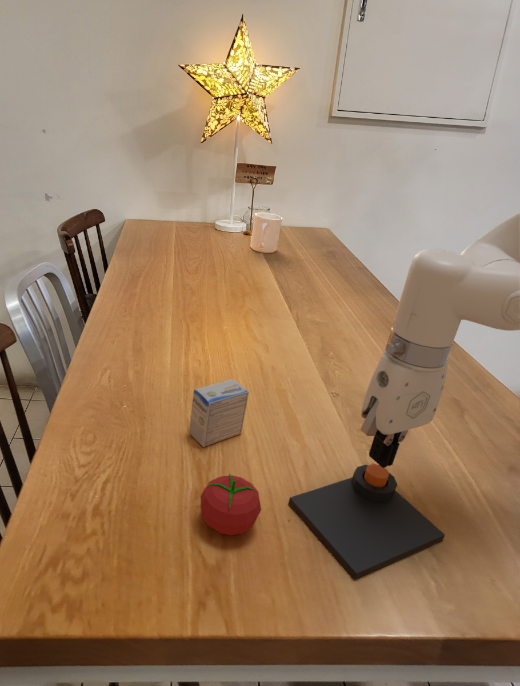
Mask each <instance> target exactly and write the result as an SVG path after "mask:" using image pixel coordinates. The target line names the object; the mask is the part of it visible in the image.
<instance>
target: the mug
mask: <svg viewBox="0 0 520 686" xmlns="http://www.w3.org/2000/svg"><path fill="white" fill-rule="evenodd" d="M252 223H253V224H252V231H251V237H250V244H249V245H250V246H249V247H250V249H251V250H253V251H255V252H258V253H262V254H273V253H276V251H277V250H278V246H279V240H280V234H281V227H282V223H283V216H281V215H279V214H276V213H273V212H272V213H271V212H265V211H261V212H260V211H259V212H255V213H254V217H253V222H252Z"/></svg>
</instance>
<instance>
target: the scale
mask: <svg viewBox="0 0 520 686" xmlns="http://www.w3.org/2000/svg"><path fill="white" fill-rule="evenodd" d="M368 465H369V464H363V465H359V466H356V468H355V470H354V471H353V474H352V477H349V478H346V479H342V480H340V481H336V482H333V483H331V484H327V485H324V486H321V487H318V488H314V489H312V490H309V491H306V492H303V493H299V494H296V495H293V496H290V497H289V499H288V505H289V506H290V507H291V509H292V510H293V511H294V513H295V514H297V515H298V517H299V518H300V519H301V520H302V521H303V523H304V524H305V525H306V526H307V527H308V528H309V529H310V531H311V532H312V533H313V534H314V535H315V536H316V537H317V539H318V540H319V541H320V542H321V543H322V545H323V546H324V547H325V549H327V551H328V552H329V553H330V554H331V555H332V556H333V557H334V558H335V560H336V561H337V562H338V563H339V564H340V566H342V568H343V569H344V570H345V571H346V572H347V574H348V575H349V576H350V577H351V578H352V579H353V580H354V581H355V580H358V579H360V578H362V577H364V576H367V575H369V574H371V573H374V572H376V571H378V570H380V569H383V568H385V567H387V566H390V565H391V564H394V563H396V562H398V561H401V560H402V559H406V558H407V557H410V556H412V555H414V554H416V553H419V552H421V551H422V550H425V549H428V548H430V547H432V546H434V545H437V544H438V543H439V544H440V543H441V542H443V541H444V539H445V536H446V534H445V533H444V532H443V531H441V529H439V528H438V527H437V526H436V525H435V524H434V523H433V522H431V521H430V520H429V519H428V518H427V517H426V516H425V515H424V514H422V513H421V511H419V510H418V508H416V507H415V506H413V504H411V503H410V502H409V501H408V500H407V499H406V498H404V496H403V495H401V494H400V493H399V492H398V491H397V487H398V483H397V480H396V478H395V476H394V475H393V474H391V473H390V472H389V476H388V479H387V482H386V485H385V486H384V487H374V486H372V485H370V484H368V483H367V482H366V481H365V479H364V475H365V472H366V469H367V466H368Z"/></svg>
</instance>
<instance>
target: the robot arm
mask: <svg viewBox="0 0 520 686" xmlns="http://www.w3.org/2000/svg"><path fill="white" fill-rule="evenodd" d="M462 321H468V322H472V323H475V324H478V325H480V326H481V325H482V326H485V327H488V328H491V329H495V330H499V331H509V332H511V331H512V332H513V331H520V211H518V212H517V213H515V214H512V215H511V216H509V217H507V218H506V219H504V220H502V221H501V222H500V223H497V225H495V226H494V227H492V228H491V229H489V230H488V231H487V232H485V233H484V234H482V235H481V236H480V237H478V238H477V239H476V240H474V241H472V243H470V244H469V245H468V246H467V247H465V249H463V250H462V251H461V253H458V252H454V251H451V250H446V249H441V248H440V249H439V248H426V249H422V250H419V251H418V252H416V254H415V255H414V256H413V258H412V260H411V263H410V265H409V268H408V272H407V276H406V279H405V282H404V286H403V289H402V292H401V296H400V299H399V302H398V305H397V308H396V312H395V315H394V319H393V322H392V326H391V328H390V332H389V335H388V338H387V342H386V346H385V348H384V353H382V355H381V357H380V359H379V361H378V363H377V365H376V367H375V369H374V372H373V374H372V376H371V379H370V380H369V384H368V387H367V390H366V392H365V395H364V399H363V401H362V406H361V411H360V412H361V413H360V416H361V418H362V419H364V421H363V423H362V425H361V427H360V432H362V433H363V434H364V435H365V436H367V437H373V439H372V443H371V445H370V448H369V452H368V456H369V457H370V458H371V460H373V461H374V462H375V463H376V464H377V465H380V466H381V467H382V468H387V467H391V466H393V464H394V461H395V459H396V456H397V453H398V451H399V447H400V443H402V442H404V440H405V438H406V436H407V434H408V432H409V431H410V430H412V429H416V428H419V427H423V426H425V425H428V424H429V423H431V422H432V421H433V420H434V417H435V415H436V412H437V410H438V408H439V407H438V406H439V404H440V401H441V397H442V395H443V389H444V387H445V382H446V378H447V371H448V363H449V361H448V358H449V355H450V352H451V349H452V346H453V343H454V341H455V338H456V335H457V332H458V330H459V327H460V324H461V322H462Z"/></svg>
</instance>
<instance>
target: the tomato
mask: <svg viewBox="0 0 520 686" xmlns="http://www.w3.org/2000/svg"><path fill="white" fill-rule="evenodd" d="M261 511H262V506H261V500H260V494H259V491H258V490H257V488H256V487H255V486H254V484H253V483H251V482H250V481H248V480H246V479H244V478H243V477H241V476H237V475H232V474H231V473H228V475H221V476H218V477H216V478H213V479H212V480H209V482H208V483H207V485H206V486H205V488H204V489H203V491H202V493H201V495H200V513H201V517H202V518H203V520H204V521H205V523H206V525H207V526H209V527H210V528H211V529H213V531H216V532H218V533H219V534H222V535H225V536H235V535H241V534H243V533H245V532H248V531H249V530H250V529H252V528H253V527H254V525H255V523H256V521H257V519H258V518H259V516H260V514H261Z"/></svg>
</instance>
